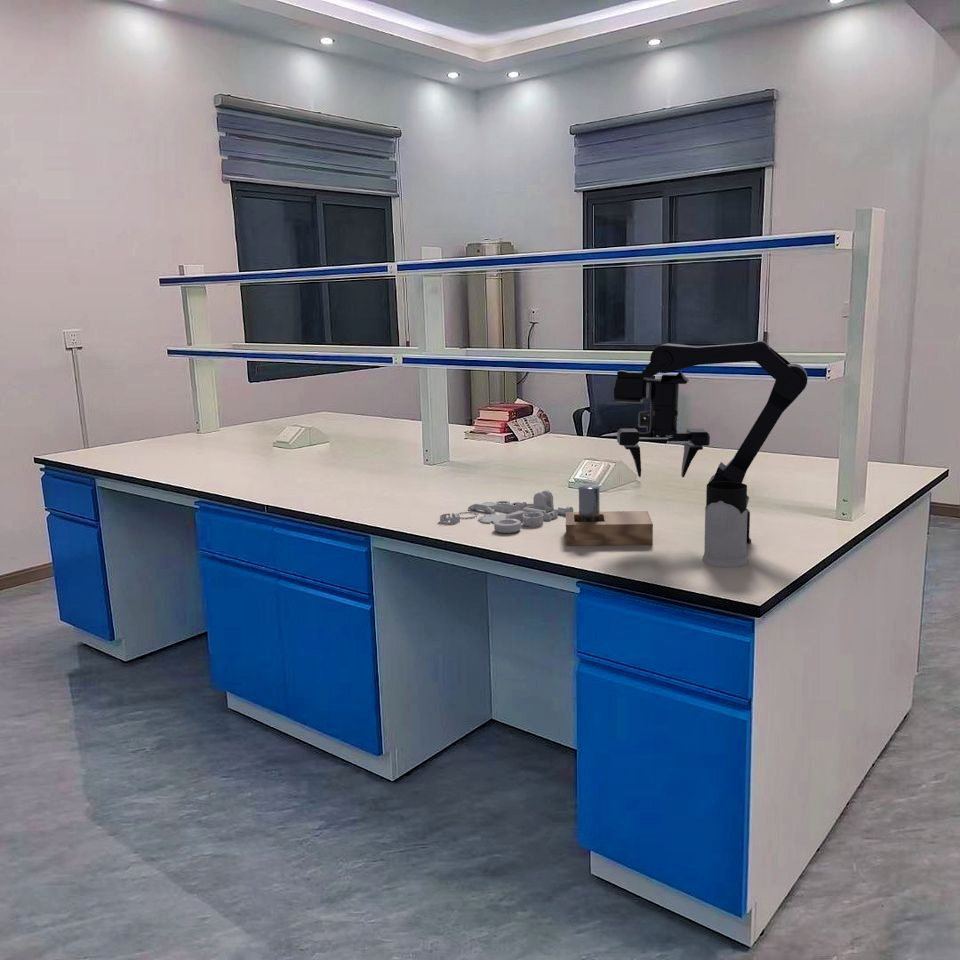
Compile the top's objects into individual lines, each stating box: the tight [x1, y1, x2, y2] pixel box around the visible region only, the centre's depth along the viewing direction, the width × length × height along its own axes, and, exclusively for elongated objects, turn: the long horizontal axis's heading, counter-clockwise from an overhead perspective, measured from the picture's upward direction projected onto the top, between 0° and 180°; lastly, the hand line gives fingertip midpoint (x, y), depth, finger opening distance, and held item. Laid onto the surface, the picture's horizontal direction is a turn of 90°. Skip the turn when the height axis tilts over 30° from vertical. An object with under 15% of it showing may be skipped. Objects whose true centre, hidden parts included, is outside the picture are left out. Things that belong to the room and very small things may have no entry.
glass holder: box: [701, 481, 749, 568], centre depth 169 cm, size 9×14×15 cm, turn 149°
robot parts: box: [439, 489, 574, 534], centre depth 207 cm, size 25×25×5 cm
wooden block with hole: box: [565, 510, 654, 547], centre depth 187 cm, size 18×11×4 cm, turn 85°
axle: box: [578, 485, 601, 522], centre depth 186 cm, size 4×4×10 cm
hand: (661, 476), depth 185 cm, fingers open, 9 cm apart
